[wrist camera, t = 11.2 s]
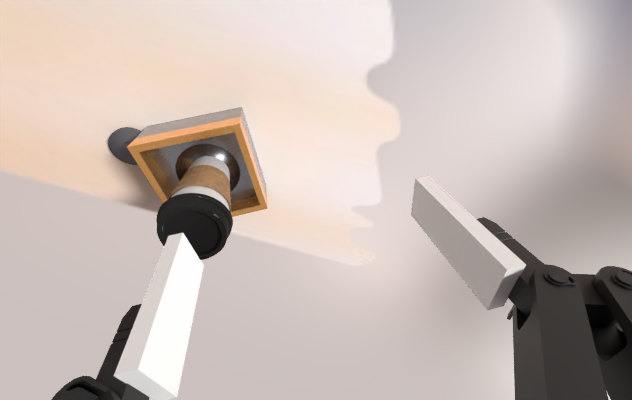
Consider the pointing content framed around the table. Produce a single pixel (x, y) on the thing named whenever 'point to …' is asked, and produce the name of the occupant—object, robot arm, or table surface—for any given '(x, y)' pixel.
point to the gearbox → (203, 140)
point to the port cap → (123, 144)
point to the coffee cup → (199, 207)
